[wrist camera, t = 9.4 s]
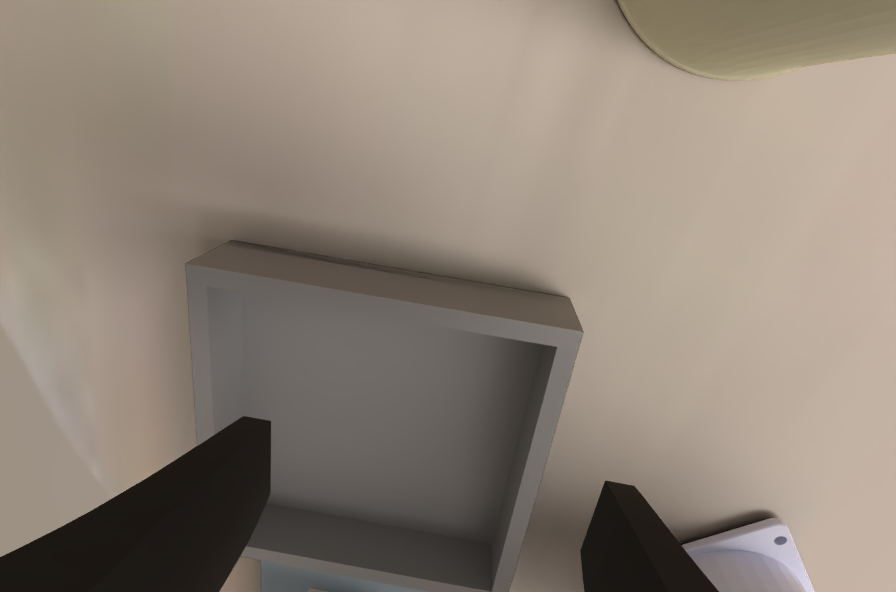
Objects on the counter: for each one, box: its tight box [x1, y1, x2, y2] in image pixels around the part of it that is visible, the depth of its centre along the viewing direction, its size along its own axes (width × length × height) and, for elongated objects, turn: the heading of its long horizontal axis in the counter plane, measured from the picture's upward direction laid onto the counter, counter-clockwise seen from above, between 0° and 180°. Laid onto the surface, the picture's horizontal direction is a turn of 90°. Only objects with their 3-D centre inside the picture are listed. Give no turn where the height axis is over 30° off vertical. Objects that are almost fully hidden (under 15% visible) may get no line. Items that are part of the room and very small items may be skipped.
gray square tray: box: [185, 240, 583, 592], centre depth 20 cm, size 13×13×3 cm
